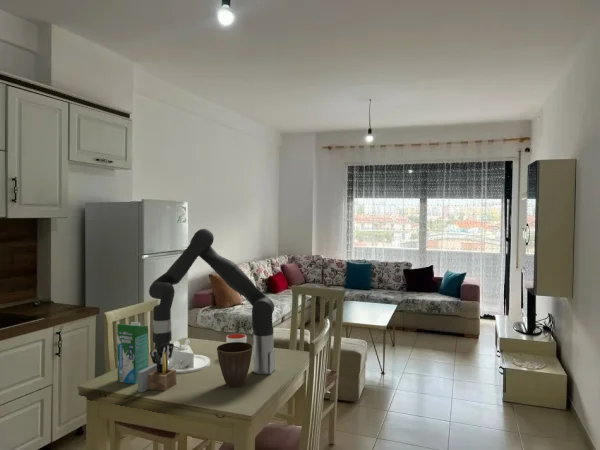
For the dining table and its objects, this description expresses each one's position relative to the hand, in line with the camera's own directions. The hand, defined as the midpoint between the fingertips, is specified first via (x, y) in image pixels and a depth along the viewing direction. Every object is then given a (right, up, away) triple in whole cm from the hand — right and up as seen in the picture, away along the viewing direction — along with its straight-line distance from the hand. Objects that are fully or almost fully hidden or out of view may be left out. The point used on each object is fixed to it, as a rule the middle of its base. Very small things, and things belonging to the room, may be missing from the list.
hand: (162, 371), depth 188 cm
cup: (+25, -6, +41) cm, 49 cm away
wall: (-5, -6, +2) cm, 8 cm away
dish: (+2, -6, +28) cm, 29 cm away
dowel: (0, -4, 0) cm, 4 cm away
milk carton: (-15, -7, +8) cm, 18 cm away
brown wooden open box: (0, -6, 0) cm, 6 cm away
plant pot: (+30, -7, +2) cm, 31 cm away
